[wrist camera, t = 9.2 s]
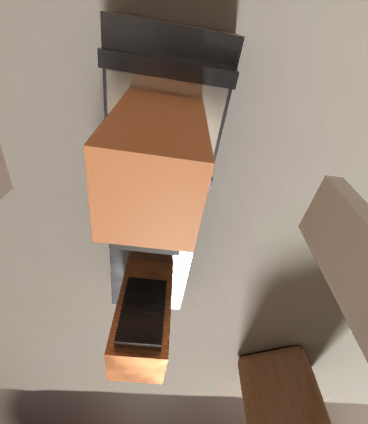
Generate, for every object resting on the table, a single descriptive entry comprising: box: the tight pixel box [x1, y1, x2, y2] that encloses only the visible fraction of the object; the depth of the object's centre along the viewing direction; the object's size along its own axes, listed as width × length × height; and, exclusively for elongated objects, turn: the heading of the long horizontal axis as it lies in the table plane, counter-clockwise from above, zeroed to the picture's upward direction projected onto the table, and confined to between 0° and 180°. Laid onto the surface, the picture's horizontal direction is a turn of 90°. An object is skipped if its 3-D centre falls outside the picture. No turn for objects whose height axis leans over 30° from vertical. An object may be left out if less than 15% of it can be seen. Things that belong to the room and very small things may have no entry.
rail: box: [98, 11, 244, 384], centre depth 18 cm, size 7×24×11 cm, turn 172°
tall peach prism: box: [83, 86, 215, 256], centre depth 13 cm, size 4×5×8 cm
